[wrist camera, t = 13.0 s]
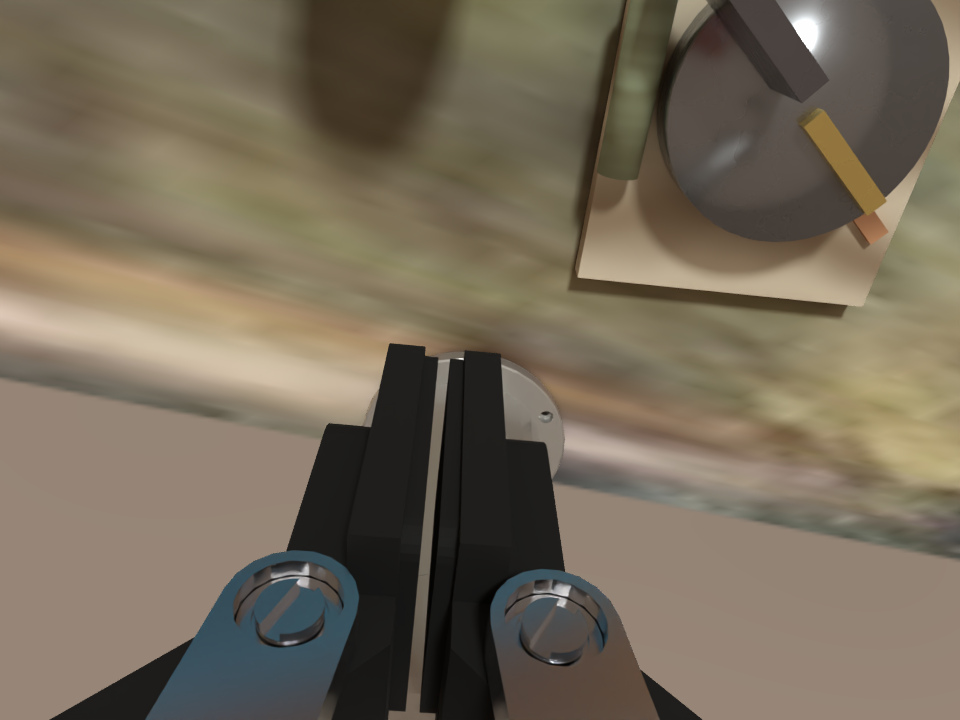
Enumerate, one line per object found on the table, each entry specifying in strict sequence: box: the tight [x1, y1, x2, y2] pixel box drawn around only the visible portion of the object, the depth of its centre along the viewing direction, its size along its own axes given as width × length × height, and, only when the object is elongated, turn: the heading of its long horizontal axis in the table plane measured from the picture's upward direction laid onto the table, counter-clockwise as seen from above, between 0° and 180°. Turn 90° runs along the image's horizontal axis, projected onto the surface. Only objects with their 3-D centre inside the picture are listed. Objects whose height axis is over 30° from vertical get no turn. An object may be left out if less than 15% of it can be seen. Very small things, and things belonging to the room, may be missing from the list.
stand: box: [575, 0, 960, 306], centre depth 33 cm, size 20×16×3 cm
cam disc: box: [656, 0, 949, 242], centre depth 30 cm, size 14×12×6 cm
